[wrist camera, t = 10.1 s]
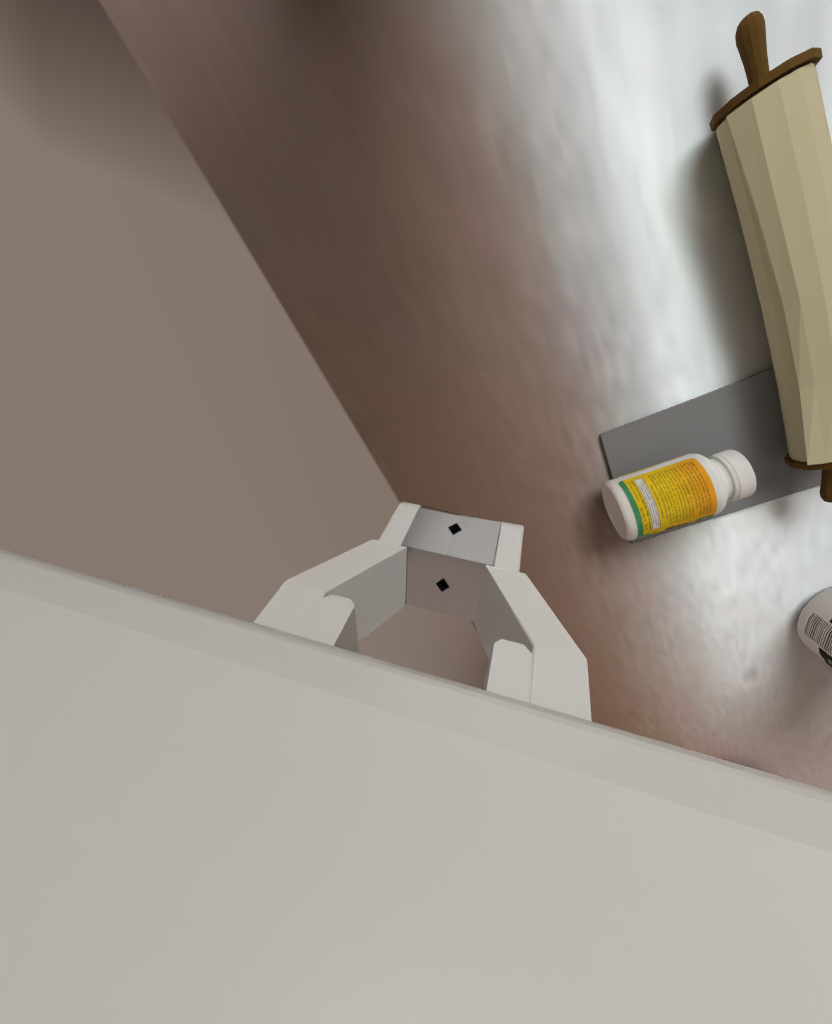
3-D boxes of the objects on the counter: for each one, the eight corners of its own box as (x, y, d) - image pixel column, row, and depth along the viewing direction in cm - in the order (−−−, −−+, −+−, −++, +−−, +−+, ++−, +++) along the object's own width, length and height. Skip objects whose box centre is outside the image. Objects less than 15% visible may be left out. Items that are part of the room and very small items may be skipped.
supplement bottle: (595, 476, 34) (711, 436, 32) (610, 528, 36) (723, 493, 34) (617, 492, 29) (757, 446, 27) (634, 552, 31) (769, 513, 29)
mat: (599, 434, 33) (600, 435, 33) (841, 341, 29) (846, 341, 29) (630, 541, 37) (631, 543, 36) (852, 471, 32) (857, 473, 32)
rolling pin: (845, 479, 32) (910, 497, 27) (770, 504, 33) (819, 525, 29) (770, 16, 24) (846, -72, 19) (674, 75, 25) (723, 7, 20)
